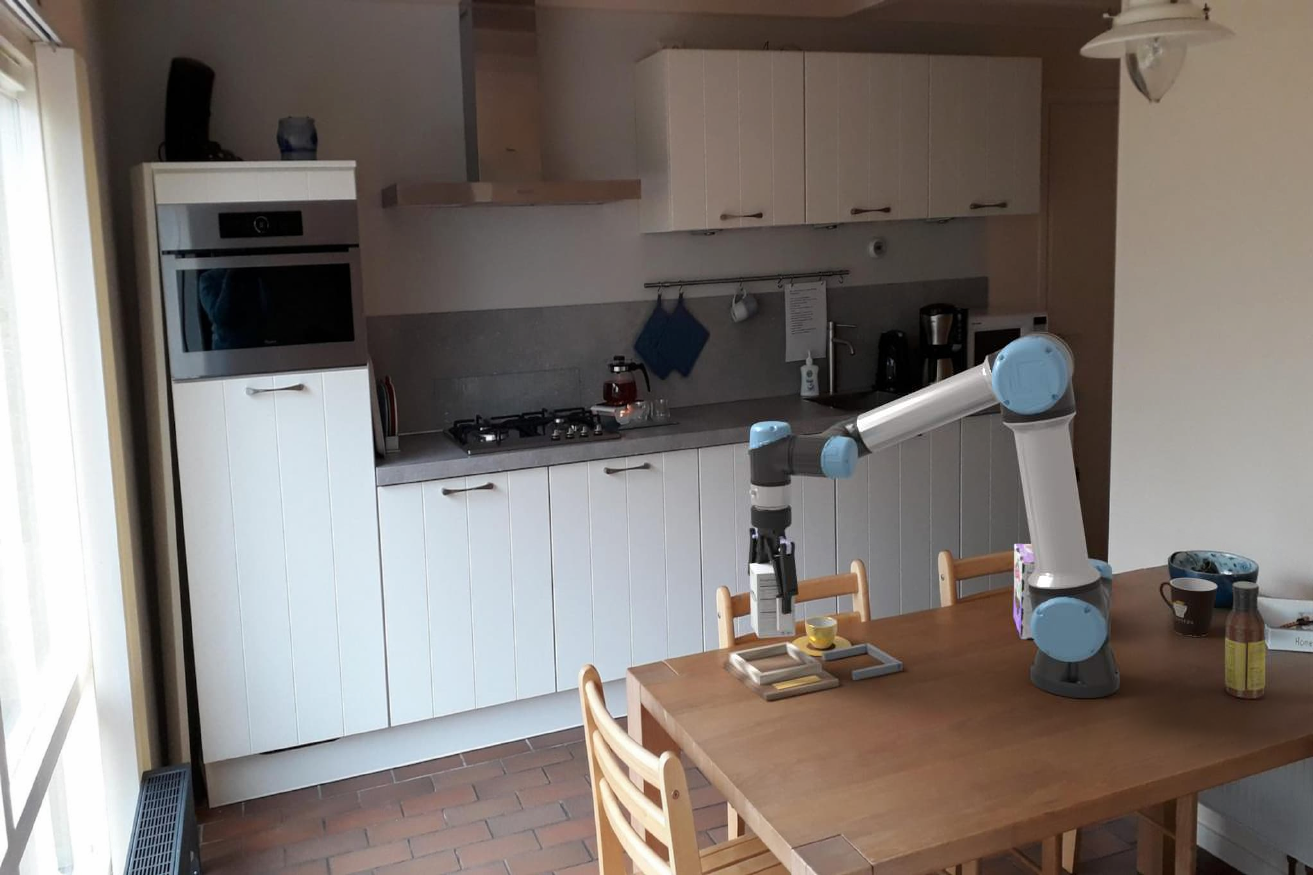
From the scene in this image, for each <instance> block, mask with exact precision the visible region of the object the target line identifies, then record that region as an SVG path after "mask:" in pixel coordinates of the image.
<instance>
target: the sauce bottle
mask: <svg viewBox="0 0 1313 875" xmlns="http://www.w3.org/2000/svg"><path fill="white" fill-rule="evenodd" d="M1231 586H1232V587H1231V590H1232V593H1233V595H1232V596H1233V604H1232V609H1231V610H1230V612H1229V614H1228V615H1227V616H1226V619H1225V635H1224V684H1225V690H1226V692H1227V693H1228V694H1229V695H1230V696H1233V697H1236V698H1242V699H1245V700H1255V699H1259V698H1262V697H1263V696H1264V695H1265V686H1266V634H1265V633H1266V632H1265V630H1266V628H1265V627H1266V626H1265V625H1266V623H1265V620H1264V619H1263V617H1262V615H1261V613H1260V611H1259V609H1258V608H1259V606H1258V599H1259V598H1258V595H1259V593H1260V589H1259V588H1260V587H1259V584H1257V583H1255V582H1250V581H1245V580H1244V581H1243V580H1242V581H1236V582H1233V583H1232V585H1231Z"/></svg>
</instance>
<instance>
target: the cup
mask: <svg viewBox="0 0 1313 875" xmlns="http://www.w3.org/2000/svg"><path fill="white" fill-rule="evenodd" d="M804 625H805V632H806V635H804V636H800V637H798V638H796V639H794V640H793V641H791V644H792V645H794V646H796V647H797V648H799V649H800V650H802V651H803V652H805V653H806V654H808V655H809V656H812V657H813V656H815V657H822V652H824V651H825V650H824V651H822V650H823V649H828V648H830V647H831V646H832V644H834V645H835V647H834V648H833V649H832V650H835V649H840V648H845V647H850V646H852V644H851V642H850V641H849V640H848V639H846V638H843V637H841V636H838V635H837V631H838V621H837V619H835V618H832V617H829V616H813V617H809V618H807V619H805V621H804ZM809 644H811V646H812V647H813V648H815V649H818V650H819V649H820V651H818V650H813V649H810V648H809V647H808V645H809Z"/></svg>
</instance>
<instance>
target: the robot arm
mask: <svg viewBox="0 0 1313 875" xmlns="http://www.w3.org/2000/svg"><path fill="white" fill-rule="evenodd" d="M1074 371H1075V357H1074V355H1073V351H1072V350H1071V348H1070V347H1069V345H1068V344H1067V343H1066V342H1065V341H1064V340H1063V339H1062V338H1061V337H1059V336H1057V335H1055V334H1053V333H1050V332H1046V331H1034V332H1029V333H1026V334H1024V335H1021V336H1020V337H1018V338H1017V339H1015V340H1013V341H1011V342H1010V343H1009V344H1006V346H1005V347H1004V348H1001V349H999V350H998V351H995V352H992V353H991V354H988V355H986V356H985V359H984V362H983V363H981V364H978V365H977V366H974V367H971V368H969V369H967V370H964V371H962V372H959V373H957V374H955V375H952V376H950V377H948V378H946V379H943V380H940V381H938V382H935V383H934V384H931V385H928V386H926V387H923V388H921V389H919V390H916V391H915V392H912V393H908V395H905V396H902V397H900V398H898V399H895V400H893V401H890V402H888V403H885V404H883V405H881V406H878V407H875V408H874V409H871V410H869V411H866V412H864V413H861V414H860V415H857V416H856V417H852V418H849V419H848V420H844V421H839V422H837V423H835V424H833V425H832V426H830V427H829V428H828V429H827V430H824V431H823V432H822V433H820V434H818V435H813V434H812V435H811V434H810V435H809V434H808V435H805V434H804V435H801V434H796V433H795V434H794V433H792V430H791V425H790V424H789V423H788V422H785V421H778V420H777V421H775V420H773V421H772V420H771V421H768V420H767V421H760V422H757V423H754V424H753V425H752V426H751V428H750V431H749V434H750V435H749V447H748V450H749V466H750V467H749V470H750V481H749V482H750V489H749V492H748V493H749V495H750V502H751V505H752V506H751V507H750V524H751V526H752V527H750V528H749V530H748V531H749V549H748V550H749V551H748V564H747V575H748V576H749V577H750V564H752V563H758V564H762V563H768V562H772V564H773V569H774V573H775V578H776V583H777V588H778V592H779V595H776V603H777V630H778V631H782V630H787V629H792V610H791V597H792V596H795V597H796V596H799V587H798V574H797V568H796V566H797V565H796V558H795V557H796V556H795V553H796V552H795V551H796V543H795V541H789V540H787V535H786V529H788V528H789V527H791V525H792V519H793V518H792V512H793V511H792V507H791V505H790V504H792V476H794V477H810V478H811V477H812V478H822V479H823V478H824V479H825V478H826V479H831V480H837V479H850V478H852V477H854V474H855V473H856V470H857V467H858V461H859V460H860V459H862V458H864V457H866V456H869V455H870V454H873V453H875V452H878V451H881V450H883V449H886V448H888V447H890V446H893V445H895V444H898V443H900V442H903V441H906V440H908V439H912V438H914V437H916V436H918V435H921V434H924V433H926V432H928V431H931V430H933V429H936V428H939V427H941V426H942V427H943V425H946V424H949V423H953V422H954V421H957V420H959V419H961V418H964V417H967V416H970V415H972V414H975V413H977V412H980V411H981V410H984V409H987V408H989V407H992V406H995V405H998V404H999V406H1000V413H1001V420H1002V424H1003V425H1005V426H1006V427H1008V429H1011V430H1012V432H1013V434H1014V440H1015V447H1016V453H1017V461H1018V466H1019V471H1020V472H1019V474H1020V479H1021V486H1022V493H1023V498H1024V505H1025V510H1026V511H1025V512H1026V517H1027V523H1028V524H1027V526H1028V532H1029V539H1030V544H1031V545H1032V551H1033V558H1034V564H1035V570H1034V572H1033V573H1032V574H1031V575H1030V577H1029V578H1028V586H1029V593H1030V600H1031V606H1032V616H1031V619H1030V629H1031V634H1032V637H1033V639H1034V640H1033V642H1034V643H1035V645H1036V646H1037V647H1038V648H1037V650H1036V656H1035V659H1034V660H1033V661H1032V663H1031V666H1030V680H1031V682H1032V684H1033V685H1034V686H1036V687H1038V688H1039V689H1041V690H1043V691H1045V692H1046V693H1049V694H1053V695H1057V696H1062V697H1067V698H1077V699H1095V698H1097V699H1098V698H1104V697H1106V696H1108V697H1109V696H1111V695H1113V694H1115V693H1116V692H1117V691H1118V690H1119V689H1120V671H1119V669H1118V668H1117V664H1116V663H1117V662H1116V659H1115V656H1114V652H1113V650H1112V647H1111V632H1112V631H1111V628H1112V627H1111V624H1112V601H1113V600H1112V598H1113V597H1112V596H1113V594H1112V593H1113V582H1114V576H1113V569H1112V566H1111V565H1110V564H1109V562H1106V561H1103V560H1101V559H1100V560H1099V559H1094V558H1090V557H1089V554H1088V549H1087V548H1088V547H1087V543H1086V541H1087V540H1086V536H1085V534H1086V533H1085V527H1084V523H1083V522H1084V521H1083V516H1082V508H1081V502H1080V496H1079V488H1078V483H1077V476H1076V468H1075V462H1074V456H1073V449H1072V442H1071V435H1070V429H1069V428H1070V427H1069V424H1070V422H1071V420H1072V419H1073V418H1074V417H1075V415H1076V414H1077V408H1076V401H1075V394H1074V387H1073V381H1072V378H1073V376H1074V373H1075V372H1074ZM858 459H859V460H858Z"/></svg>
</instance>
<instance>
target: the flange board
mask: <svg viewBox="0 0 1313 875" xmlns="http://www.w3.org/2000/svg"><path fill="white" fill-rule="evenodd" d="M722 663H723V664H722V665H723V669H724V670H726V671H727V672H728V673H730V674H731V675H732V676H733V677H735V678H736V679H737V680H738V681H740V682H741V683H742V684H744V685H745V686H746V687H747V686H748V687H747V688H749V689H750V690H752V692H754V693H755V694H757V696H759V697H760V698H761V699H762V700H764V701H766V702H770V701H774V700H778V699H784V698H788V697H792V696H793V695H794V696H798V695H803V694H807V692H808V693H812V692H816V691H823V690H826V689H832V688H836V687H839V686H840V680H839V678H837V677H835V676H834V675H833V674H830V673H829V672H827V671H826V670H825V669H823V668H822V666H823V665H822V663H821V662H820V661H819V660H817V659H815V658H814V657H813V656H812V655H808V654H806V653H805V652H803V651H802V650H800V649H799V648H797V647H796V646H794V645H792V642H789V641H785V642H779V643H774V644H768V645H764V646H758V647H753V648H748V649H743V650H736V651H731V652H728V660H726V661H722ZM794 696H793V697H794Z"/></svg>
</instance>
